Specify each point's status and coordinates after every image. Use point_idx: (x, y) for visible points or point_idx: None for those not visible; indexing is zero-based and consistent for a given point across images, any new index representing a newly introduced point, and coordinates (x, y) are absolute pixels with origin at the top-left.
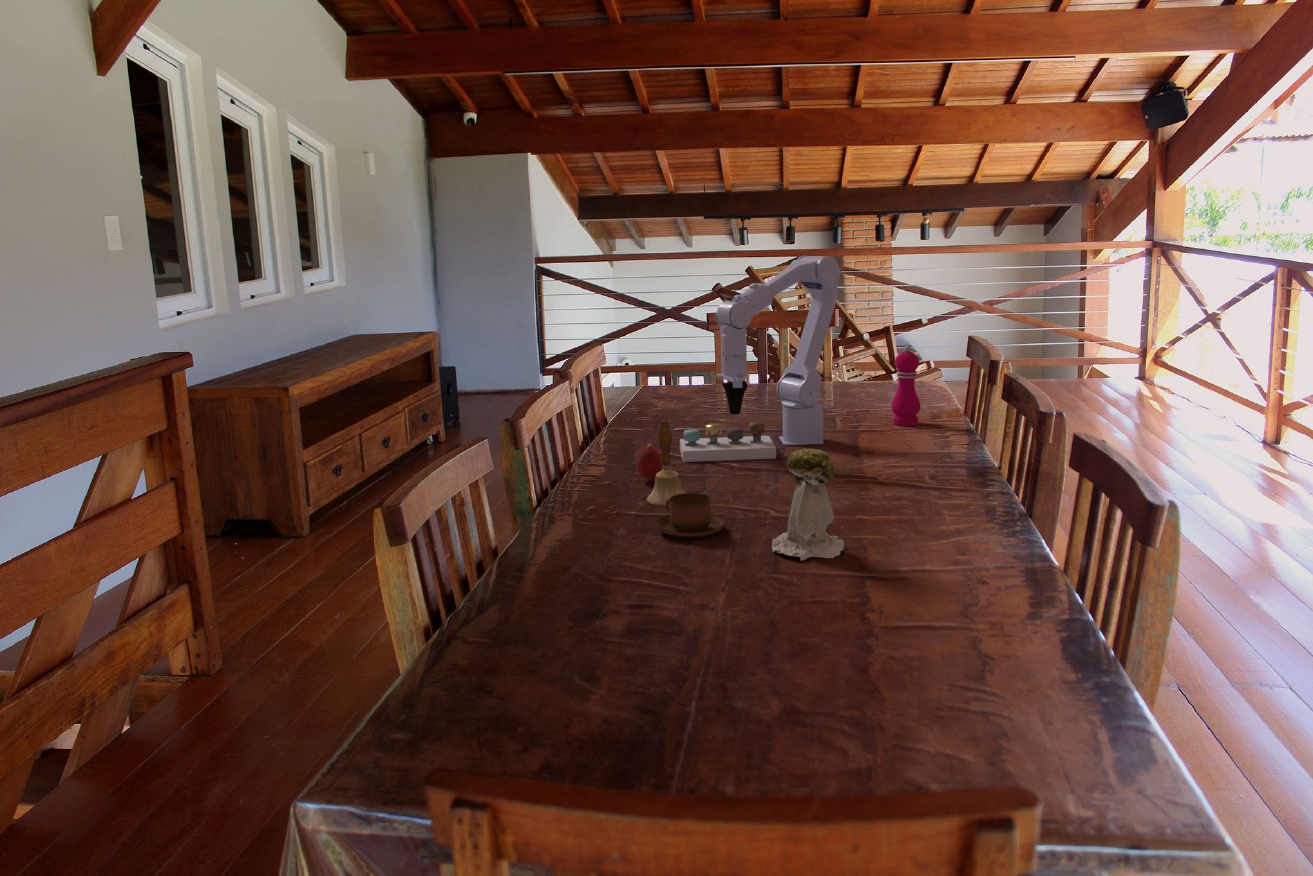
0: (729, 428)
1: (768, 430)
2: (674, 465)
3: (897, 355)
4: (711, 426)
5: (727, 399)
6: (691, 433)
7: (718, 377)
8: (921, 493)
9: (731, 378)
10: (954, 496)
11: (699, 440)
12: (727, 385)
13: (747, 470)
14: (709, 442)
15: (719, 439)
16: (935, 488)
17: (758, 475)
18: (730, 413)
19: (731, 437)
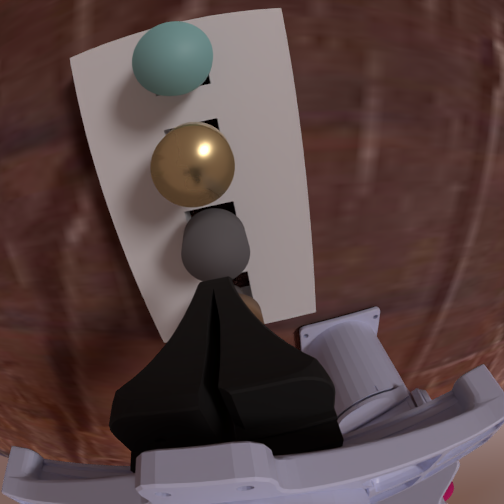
0: (233, 229)
1: (454, 269)
2: (48, 50)
3: (448, 494)
4: (156, 164)
5: (220, 321)
6: (133, 65)
7: (139, 464)
8: (49, 445)
9: (30, 500)
10: (56, 457)
11: (253, 85)
12: (115, 435)
13: (38, 268)
14: (220, 129)
15: (271, 163)
16: (74, 455)
17: (14, 293)
18: (213, 279)
19: (185, 230)
